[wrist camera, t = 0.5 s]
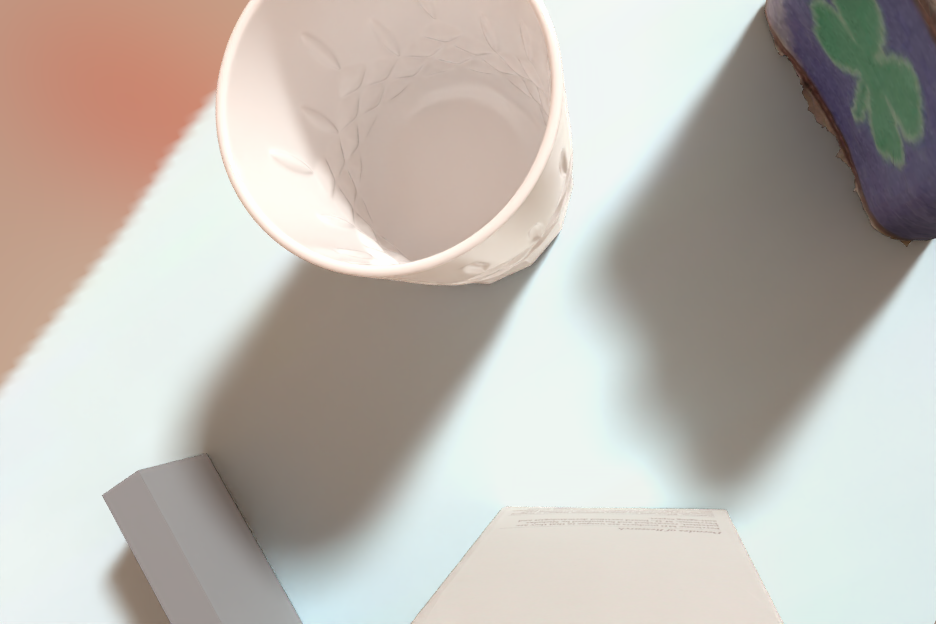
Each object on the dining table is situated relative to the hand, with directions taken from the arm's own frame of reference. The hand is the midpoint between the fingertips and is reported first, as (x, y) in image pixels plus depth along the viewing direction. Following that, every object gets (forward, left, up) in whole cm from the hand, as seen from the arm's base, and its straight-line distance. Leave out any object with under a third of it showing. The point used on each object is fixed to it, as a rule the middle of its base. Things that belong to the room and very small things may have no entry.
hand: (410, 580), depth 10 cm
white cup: (+9, 0, -16) cm, 18 cm away
